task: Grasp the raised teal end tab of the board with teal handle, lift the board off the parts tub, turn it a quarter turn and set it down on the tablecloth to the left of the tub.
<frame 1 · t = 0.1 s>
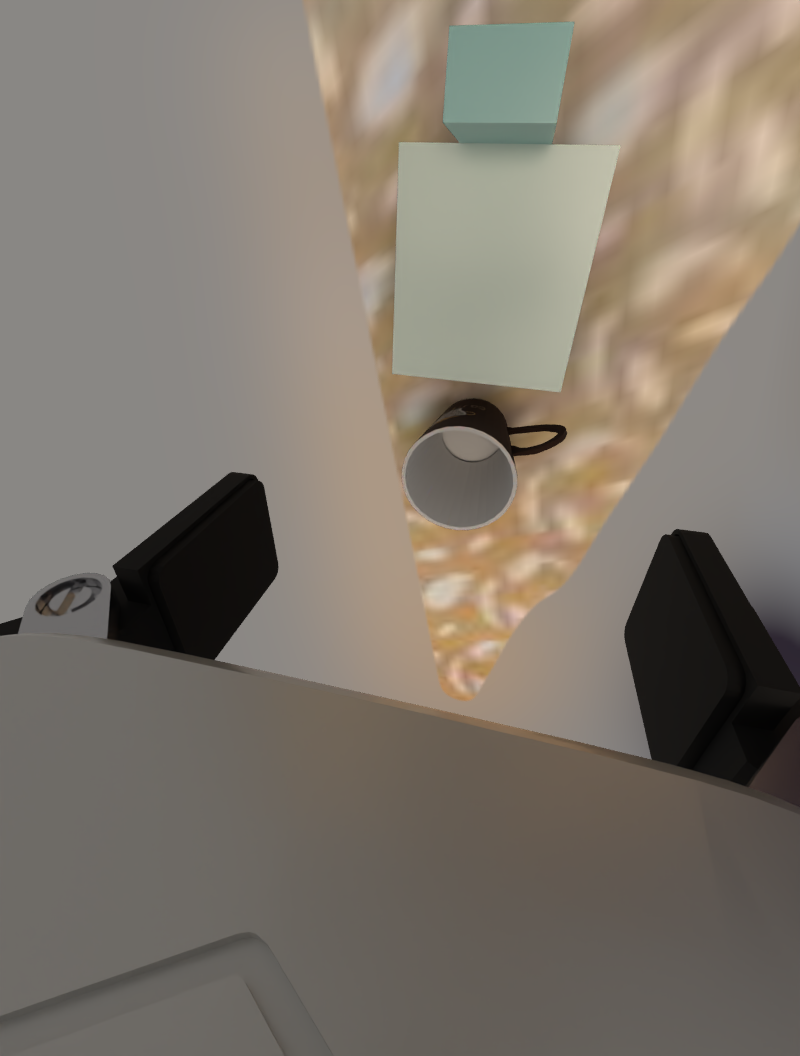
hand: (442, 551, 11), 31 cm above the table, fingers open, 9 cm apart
coffee mug: (489, 433, 41), on the table
board with teal handle: (488, 277, 29), point 6 cm above the table, touching tub
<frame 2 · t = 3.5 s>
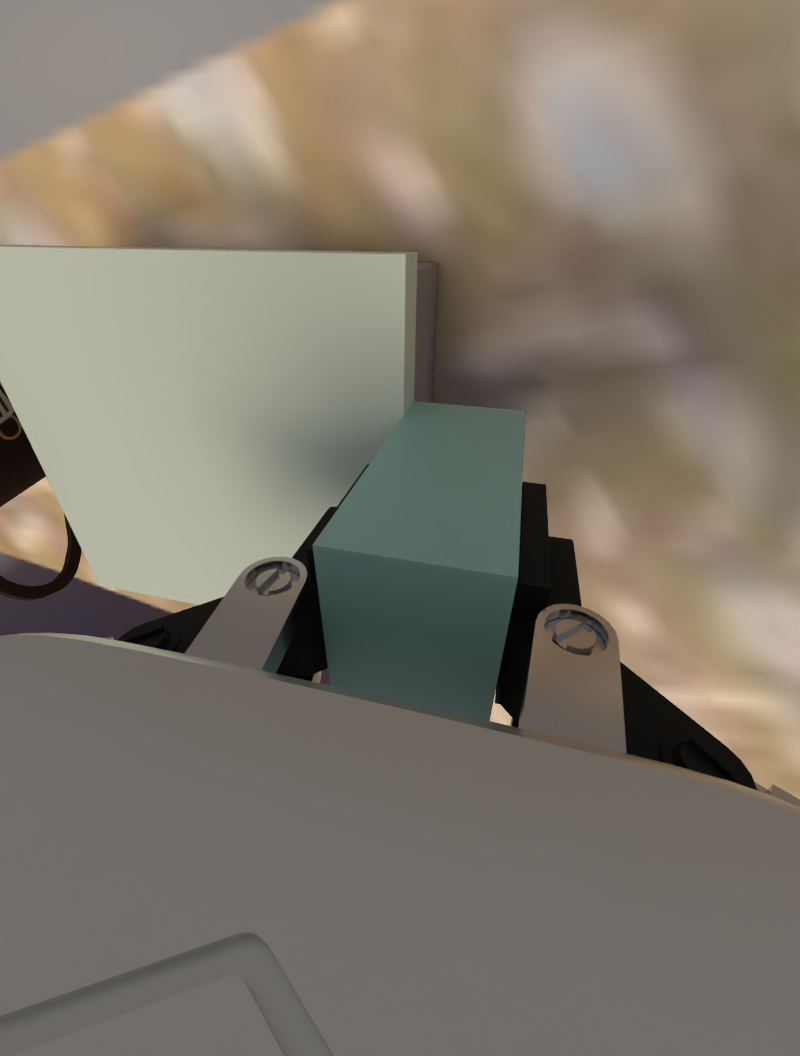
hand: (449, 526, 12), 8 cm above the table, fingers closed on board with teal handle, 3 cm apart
coffee mug: (75, 409, 23), on the table
tub: (298, 403, 20), on the table
board with teal handle: (223, 458, 15), point 6 cm above the table, touching gripper, tub
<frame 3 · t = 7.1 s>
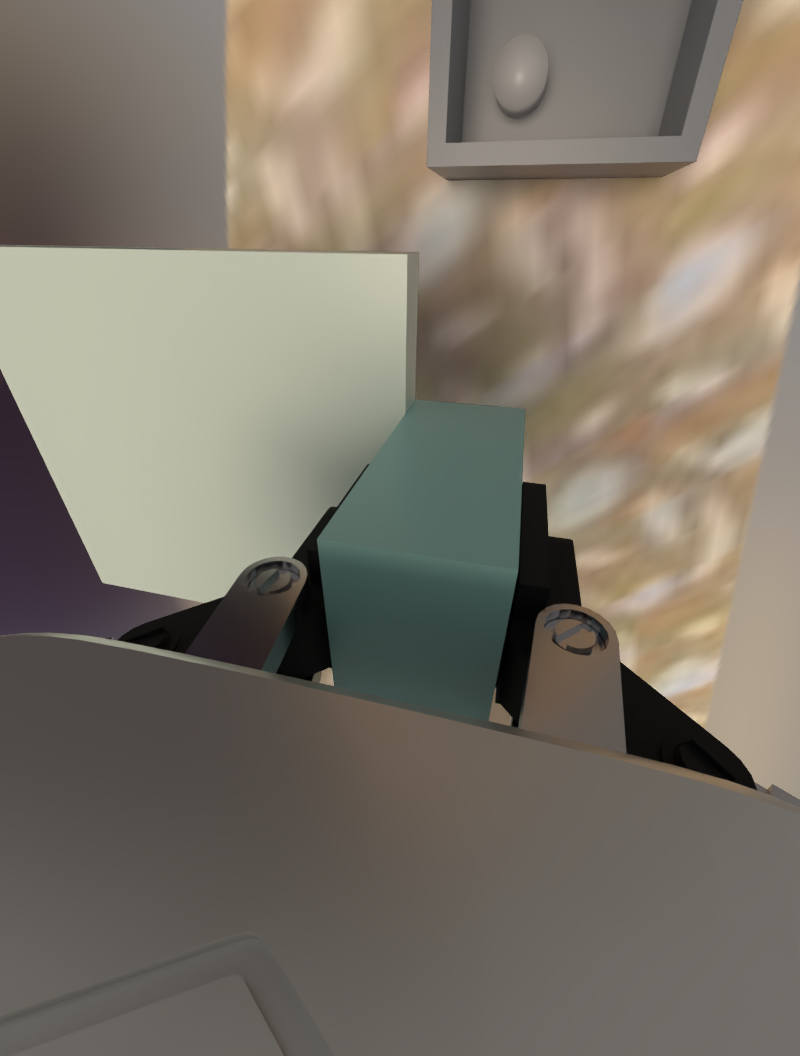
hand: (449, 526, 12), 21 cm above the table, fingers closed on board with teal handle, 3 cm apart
tub: (574, 13, 20), on the table
board with teal handle: (226, 456, 15), point 19 cm above the table, touching gripper
when the fingers open (4 cm above the table, at t = 10.7 s): board with teal handle drops 2 cm, on the table.
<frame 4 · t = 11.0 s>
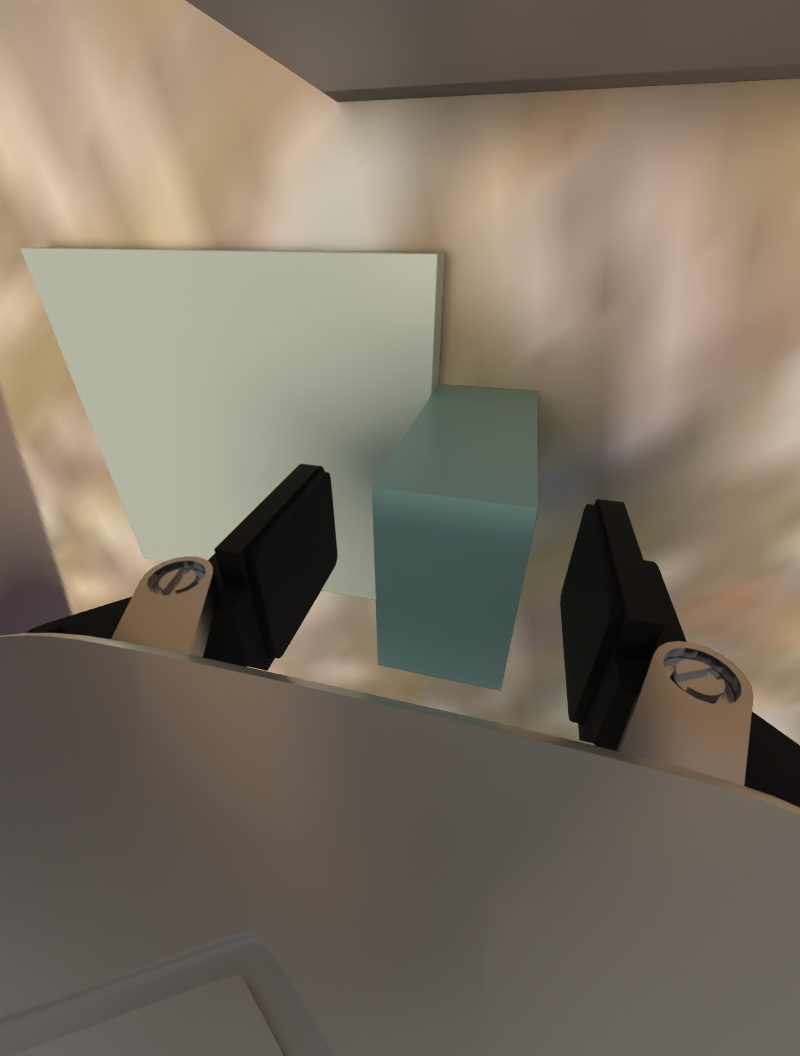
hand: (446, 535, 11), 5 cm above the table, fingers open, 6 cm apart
board with teal handle: (263, 438, 17), on the table
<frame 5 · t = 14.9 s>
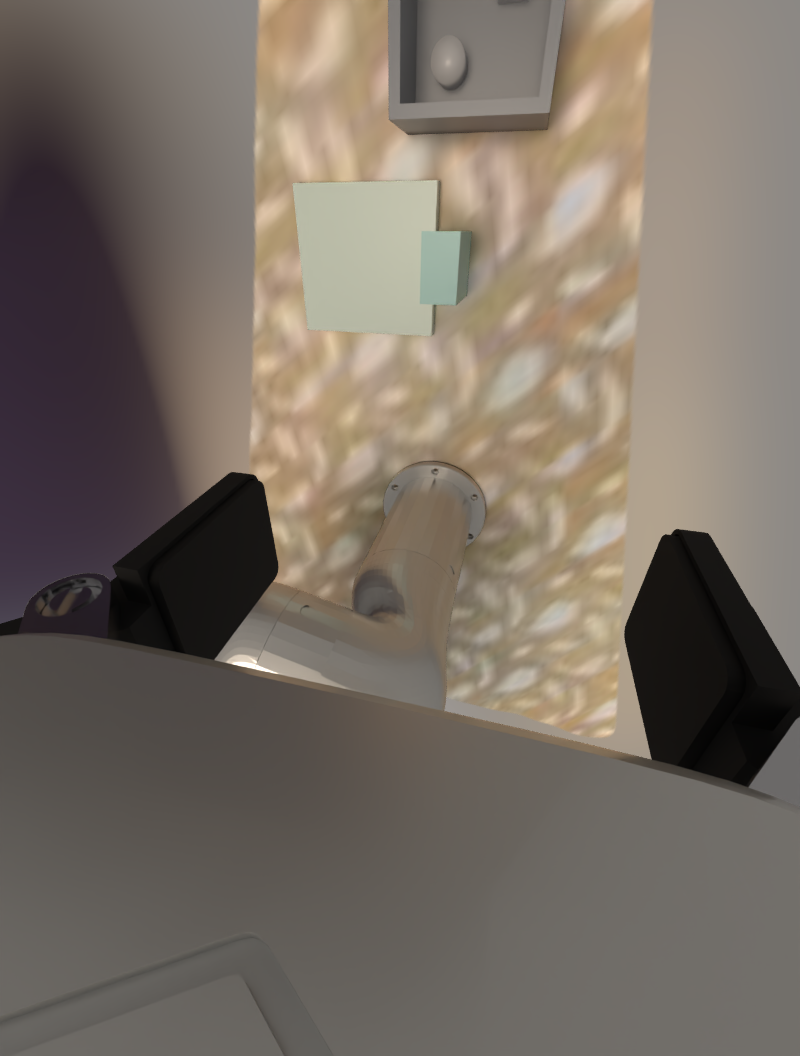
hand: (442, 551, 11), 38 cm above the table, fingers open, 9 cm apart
tub: (483, 21, 32), on the table
board with teal handle: (369, 262, 42), on the table
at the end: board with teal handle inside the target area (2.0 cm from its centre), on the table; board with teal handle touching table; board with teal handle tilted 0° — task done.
